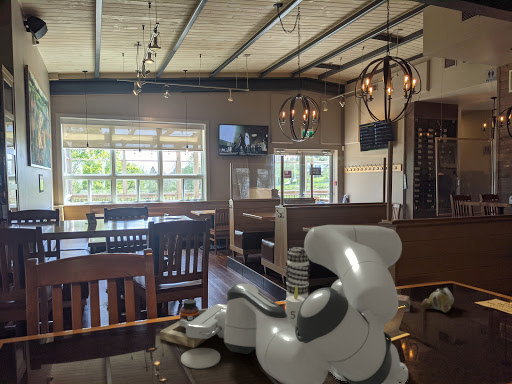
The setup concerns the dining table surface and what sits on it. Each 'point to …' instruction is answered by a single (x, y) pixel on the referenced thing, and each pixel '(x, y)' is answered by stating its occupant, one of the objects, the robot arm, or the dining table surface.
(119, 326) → the dining table surface
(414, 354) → the dining table surface
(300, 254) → the decorative candle
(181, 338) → the square frame
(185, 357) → the coaster
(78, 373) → the dining table surface
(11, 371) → the dining table surface
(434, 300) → the ceramic sculpture
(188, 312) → the supplement bottle
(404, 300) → the packaged product
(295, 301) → the candle
